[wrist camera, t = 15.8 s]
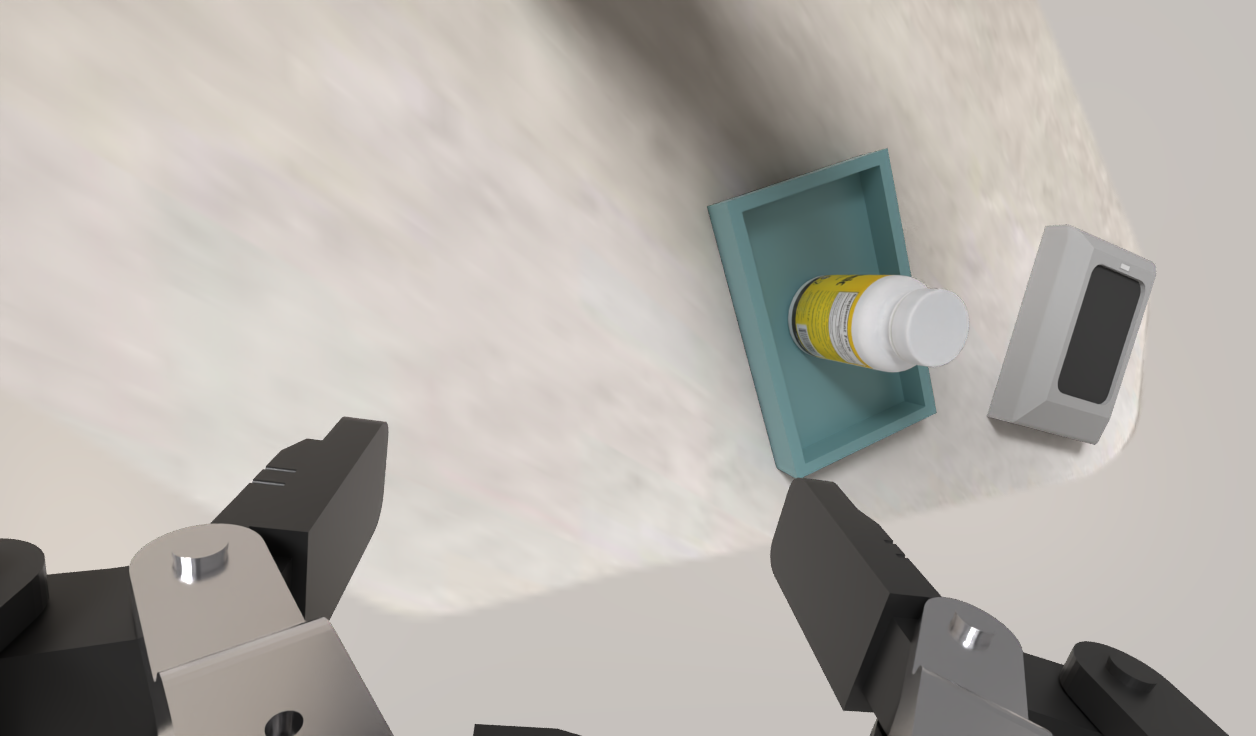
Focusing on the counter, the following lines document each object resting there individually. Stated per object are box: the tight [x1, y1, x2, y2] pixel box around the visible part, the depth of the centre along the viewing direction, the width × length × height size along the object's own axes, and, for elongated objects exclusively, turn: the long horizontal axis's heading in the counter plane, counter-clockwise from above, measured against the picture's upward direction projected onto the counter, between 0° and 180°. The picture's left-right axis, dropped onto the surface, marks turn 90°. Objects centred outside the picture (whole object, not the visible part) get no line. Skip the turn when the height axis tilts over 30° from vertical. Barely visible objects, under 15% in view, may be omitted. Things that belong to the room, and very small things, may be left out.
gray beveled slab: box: [987, 224, 1156, 445], centre depth 46 cm, size 10×4×15 cm
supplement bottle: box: [788, 275, 969, 372], centre depth 35 cm, size 5×5×10 cm
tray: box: [707, 149, 937, 478], centre depth 39 cm, size 18×12×2 cm, turn 18°
